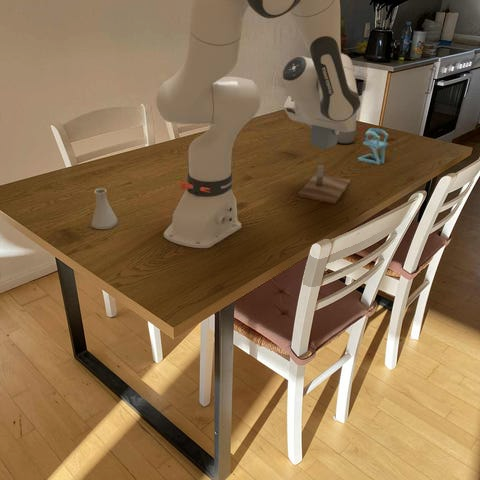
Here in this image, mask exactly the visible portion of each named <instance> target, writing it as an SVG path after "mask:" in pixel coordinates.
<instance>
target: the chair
mask: <svg viewBox="0 0 480 480" xmlns="http://www.w3.org/2000/svg"><path fill="white" fill-rule="evenodd" d="M378 133H381V134H383V135H384V136H385V137H384V138H383V141H381V136H379V135H378ZM369 136H371V137H372V136H373V137H372V138H371V139H369ZM388 137H389V133H387V132H386V131H385V130H384V129H381V128H374V127H371V128H368V130H367V131H366V132H365V141H362V145H364V146H367V147H369V149H371V151H372V153H367V154H365V155H362V156H360V157H357V161H360V162H365V163H370V164H375V165H381V164H385V152H386V147H387V146H388V145H389V143H388V142H387V138H388ZM378 149H380V157H379V154H378ZM368 157H371V158H372V159H369V158H368Z"/></svg>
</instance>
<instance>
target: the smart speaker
mask: <svg viewBox="0 0 480 480" xmlns="http://www.w3.org/2000/svg"><path fill="white" fill-rule="evenodd" d="M351 118H352V120H353V124H352V127H351V129H350V130H349V131H348V132H342V131H340V132H339V134H338V138H337V144H341V145H348V144H352V143H353V141H354V140H355V137H356V131H357V130H356V129H357V112H356V113H355V114H354V115H353V116H352V117H351Z"/></svg>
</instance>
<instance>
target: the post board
mask: <svg viewBox="0 0 480 480" xmlns="http://www.w3.org/2000/svg"><path fill="white" fill-rule="evenodd" d="M324 173H325V166H324V165H323V164H319V165H318V166H317V172H316V173H315V174H314V175H313V176H312V177H311V178H310V179H309V180H308V182H307V183H306V184H304V186H303V187H302V188H301V189H300V190H299V191H298V193H297V197H301V198H305V199H310V200H315V201H320V202H323V203H324V202H326V203H330V204H337V202H338V200H339V199H340V198H341V196H342V195H343V194H344V192H345V191H346V190H347V188H348V187H349V186H350V184H351V179H346V178H340V177H335V176H330V175H329V176H328V175H324Z"/></svg>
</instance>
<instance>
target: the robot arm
mask: <svg viewBox="0 0 480 480" xmlns="http://www.w3.org/2000/svg"><path fill="white" fill-rule="evenodd" d="M249 6H250V8H251V9H252V10H253V11H254V12H255V13H257V14H258V15H259V16H261V17H263V18H264V19H276V18H280V17H282V16H284V15H286V14H287V13H290V15H291V18H292V20H293V22H294V24H295V26H296V28H297V31H298V33H299V34H300V37H301V39H302V42H303V43H304V45H305V47H306V50H307V51H308V54H309V56H310V57H306V56H302V55H300V56H295V57H293V58H292V59H291V60H289V61H288V62H287V63H286V65H285V66H284V68H283V71H282V81H283V84H284V87H285V90H286V93H288V96H287V98H286V100H285V102H284V105H283V107H282V109H283V110H284V112H285V113H286V115H287V117H288V118H289V119H290V120H292V121H294V122H297V123H298V122H299V123H302V124H306V125H307V126H309V127H310V128H311V129H312V125H316V126H320V127H325V128H329V129H333V130H332V133H333V134H335V135H338V134H339V132H340V131H342V132H348V131H349V130H350V129H351V127H352V124H353V120H352V118H351V117H352V116H353V115H354V114H355V113H356V114H357V111H358V110H359V109H360V107H361V100H360V99H361V98H360V96H359V93H358V88H357V81H356V77H355V71H354V65H353V59H352V58H351V57H350V56H349V55H347V54H345V53H343V52H342V47H341V46H342V45H341V43H342V42H341V3H340V0H192V5H191V11H190V21H189V22H190V23H189V38H188V48H187V54H186V58H185V60H184V63H183V64H182V66H181V67H180V68H179V70H178V71H177V72H175V74H173V76H171V77H170V78H168V79H167V80H165V81H163V83H161V85H160V86H159V87H158V89H157V93H156V98H155V101H156V102H155V103H156V107H157V111H158V113H159V114H160V116H161V117H162V119H163V120H165V121H166V122H167V123H172V124H173V123H174V124H178V125H198V124H199V125H202V124H205V125H206V124H210V126H209V127H208V129H207V130H206V131H205V132H204V133H203V134H201V135H199V136H197V137H196V138H194V139H193V141H192V142H190V145H189V146H188V170H189V171H188V173H187V177H186V180H185V181H181V183H180V189H181V190H185V191H184V193H183V194H182V197H181V198H180V201H179V202H178V204H177V206H176V208H175V210H173V211H174V212H173V214H172V222H171V224H169V226H168V227H167V228H166V229H165V230H164V232H163V238H165V239H166V240H167V241H170V242H171V243H174V244H177V245H180V246H184V247H188V248H193V249H208V248H212V247H213V246H215V244H218V243H219V242H221V241H223V240H224V239H225V238H227V237H229V236H230V235H233V234H234V233H236V232H237V231H239V230H240V229H242V223H241V222H240V221H239V220H238V210H237V209H238V208H237V199H236V197H235V195H234V193H233V190H232V188H233V183H234V182H233V181H234V179H233V173H232V171H231V170H232V169H231V168H232V167H231V166H232V154H233V147H234V143H235V140H236V139H237V136H238V135H239V132H240V131H241V129H242V128H244V126H245V125H246V124H247V123H248V122H249V121H251V120H252V119H254V117H255V116H256V114H258V111H259V109H260V106H261V100H262V99H261V94H260V90H259V88H258V86H257V84H256V82H254V81H253V79H249V78H244V77H240V76H239V77H238V76H228V75H229V74H230V73H231V72H232V71H233V70H234V69H235V67H236V65H237V64H238V59H239V50H240V44H241V37H242V30H243V29H242V28H243V20H244V19H243V18H244V16H245V13H246V11H247V9H248V7H249Z"/></svg>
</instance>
